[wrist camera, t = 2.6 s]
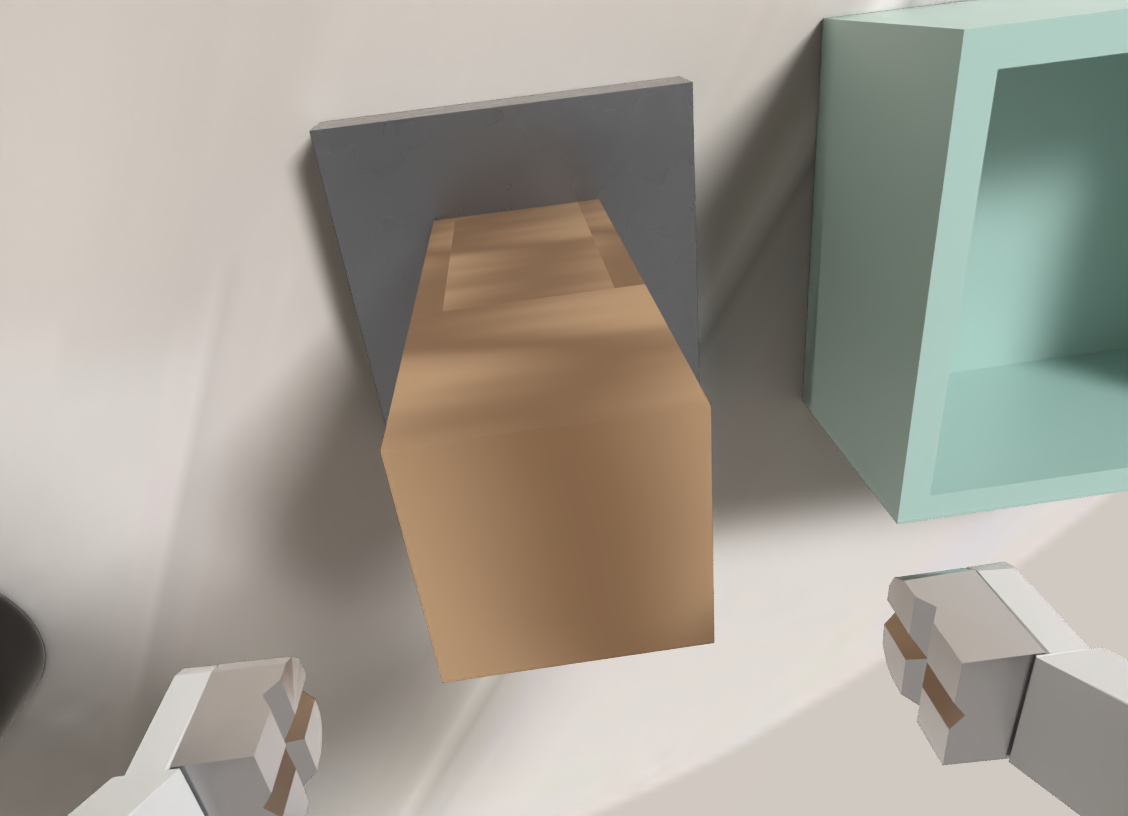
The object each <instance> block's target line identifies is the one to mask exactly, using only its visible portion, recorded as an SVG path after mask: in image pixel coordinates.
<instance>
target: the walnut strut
mask: <svg viewBox="0 0 1128 816" xmlns="http://www.w3.org/2000/svg"><path fill="white" fill-rule="evenodd" d="M380 452H381V456H382V460H383V463H384V467H385V471H386V474H387V478H388V482H389V486H390V489H391V493H392V497H393V501H394V504H395V508H396V512H397V515H398V519H399V523H400V527H401V530H402V534H403V538H404V541H405V545H406V549H407V553H408V556H409V560H410V564H411V568H412V571H413V575H414V579H415V582H416V586H417V590H418V594H419V597H420V601H421V605H422V608H423V612H424V616H425V620H426V623H427V627H428V631H429V635H430V638H431V642H432V646H433V649H434V653H435V657H436V661H437V664H438V668H439V672H440V675H441V679H442V683H445V682H451V681H458V680H465V679H472V678H479V677H485V676H492V675H499V674H506V673H513V672H519V671H526V670H533V669H540V668H547V667H553V666H560V665H567V664H574V663H581V662H587V661H594V660H601V659H608V658H615V657H621V656H628V655H635V654H642V653H649V652H655V651H662V650H669V649H676V648H683V647H689V646H696V645H703V644H710V643H714V588H713V518H712V447H711V405H710V403H709V401H708V399H707V397H706V396H705V394H704V392H703V390H702V388H701V386H700V385H699V383H698V381H697V379H696V377H695V375H694V373H693V372H692V370H691V368H690V366H689V364H688V362H687V361H686V359H685V357H684V355H683V353H682V351H681V350H680V348H679V346H678V344H677V342H676V340H675V338H674V337H673V335H672V333H671V331H670V329H669V327H668V326H667V324H666V322H665V320H664V318H663V316H662V315H661V313H660V311H659V309H658V307H657V305H656V303H655V302H654V300H653V298H652V296H651V294H650V292H649V291H648V289H647V287H646V285H645V283H644V281H643V280H642V278H641V276H640V274H639V272H638V270H637V268H636V267H635V265H634V263H633V261H632V259H631V257H630V256H629V254H628V252H627V250H626V248H625V246H624V245H623V243H622V241H621V239H620V237H619V235H618V233H617V232H616V230H615V228H614V226H613V224H612V222H611V221H610V219H609V217H608V215H607V213H606V211H605V210H604V208H603V206H602V204H601V202H600V200H599V199H596V200H588V201H581V202H573V203H565V204H558V205H550V206H543V207H535V208H527V209H520V210H512V211H504V212H497V213H489V214H482V215H474V216H466V217H459V218H451V219H443V220H436V221H434V222H433V226H432V231H431V235H430V239H429V244H428V248H427V252H426V257H425V261H424V265H423V269H422V274H421V278H420V282H419V287H418V291H417V295H416V300H415V304H414V308H413V313H412V317H411V321H410V326H409V330H408V334H407V338H406V343H405V347H404V351H403V356H402V360H401V364H400V369H399V373H398V377H397V382H396V386H395V390H394V395H393V399H392V403H391V407H390V412H389V416H388V420H387V425H386V429H385V433H384V438H383V442H382V446H381V451H380Z"/></svg>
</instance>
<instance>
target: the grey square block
mask: <svg viewBox="0 0 1128 816" xmlns="http://www.w3.org/2000/svg"><path fill="white" fill-rule="evenodd" d="M310 135H311V139H312V143H313V147H314V151H315V154H316V158H317V162H318V166H319V170H320V174H321V178H322V181H323V185H324V189H325V193H326V197H327V201H328V205H329V208H330V212H331V216H332V220H333V224H334V228H335V232H336V235H337V239H338V243H339V247H340V251H341V255H342V259H343V262H344V266H345V270H346V274H347V278H348V282H349V286H350V289H351V293H352V297H353V301H354V305H355V309H356V313H357V316H358V320H359V324H360V328H361V332H362V336H363V339H364V343H365V347H366V351H367V355H368V359H369V363H370V366H371V370H372V374H373V378H374V382H375V386H376V390H377V393H378V397H379V401H380V405H381V409H382V413H383V417H384V420H385V424H386V425H387V420H388V416H389V412H390V407H391V403H392V399H393V395H394V390H395V386H396V382H397V377H398V373H399V369H400V364H401V360H402V356H403V351H404V347H405V343H406V338H407V334H408V330H409V326H410V321H411V317H412V313H413V308H414V304H415V300H416V295H417V291H418V287H419V282H420V278H421V274H422V269H423V265H424V261H425V257H426V252H427V248H428V244H429V239H430V235H431V231H432V226H433V222H434V221H436V220H443V219H451V218H459V217H466V216H474V215H482V214H489V213H497V212H504V211H512V210H520V209H527V208H535V207H543V206H550V205H558V204H565V203H573V202H581V201H588V200H596V199H599V200H600V202H601V204H602V206H603V208H604V210H605V211H606V213H607V215H608V217H609V219H610V221H611V222H612V224H613V226H614V228H615V230H616V232H617V233H618V235H619V237H620V239H621V241H622V243H623V245H624V246H625V248H626V250H627V252H628V254H629V256H630V257H631V259H632V261H633V263H634V265H635V267H636V268H637V270H638V272H639V274H640V276H641V278H642V280H643V281H644V283H645V285H646V287H647V289H648V291H649V292H650V294H651V296H652V298H653V300H654V302H655V303H656V305H657V307H658V309H659V311H660V313H661V315H662V316H663V318H664V320H665V322H666V324H667V326H668V327H669V329H670V331H671V333H672V335H673V337H674V338H675V340H676V342H677V344H678V346H679V348H680V350H681V351H682V353H683V355H684V357H685V359H686V361H687V362H688V364H689V366H690V368H691V370H692V372H693V373H694V375H695V377H696V379H697V381H698V383H699V348H698V304H697V259H696V215H695V170H694V126H693V82H691V81H689V80H687V79H684V78H682V77H680V76H679V77H671V78H664V79H656V80H648V81H640V82H632V83H624V84H616V85H609V86H601V87H593V88H585V89H577V90H569V91H561V92H553V93H546V94H538V95H530V96H522V97H514V98H506V99H498V100H491V101H483V102H475V103H467V104H459V105H451V106H443V107H436V108H428V109H420V110H412V111H404V112H396V113H388V114H381V115H373V116H365V117H357V118H349V119H341V120H333V121H325V122H320V123H319V124H318V125H316V126H315V127H314V128H312V129H311V130H310Z"/></svg>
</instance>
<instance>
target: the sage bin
mask: <svg viewBox="0 0 1128 816" xmlns="http://www.w3.org/2000/svg"><path fill="white" fill-rule="evenodd" d="M803 403H804V404H805V405H806V407H807V408H808V409H809V410H810V412H811V413H812V414H813V416H814V417H815V418H816V419H817V421H818V422H819V423H820V425H821V426H822V427H823V429H824V430H825V431H826V432H827V434H828V435H829V436H830V438H831V439H832V440H833V441H834V443H835V444H836V445H837V447H838V448H839V449H840V451H841V452H842V453H843V454H844V456H845V457H846V458H847V460H848V461H849V462H850V463H851V465H852V466H853V467H854V469H855V470H856V471H857V473H858V474H859V475H860V476H861V478H862V479H863V480H864V482H865V483H866V484H867V485H868V487H869V488H870V489H871V491H872V492H873V493H874V495H875V496H876V497H877V498H878V500H879V501H880V502H881V504H882V505H883V506H884V508H885V509H886V510H887V511H888V513H889V514H890V515H891V517H892V518H893V519H894V520H895V522H896V523H897V524H900V523H907V522H914V521H921V520H928V519H935V518H942V517H949V516H956V515H963V514H970V513H977V512H984V511H991V510H997V509H1004V508H1011V507H1018V506H1025V505H1032V504H1039V503H1046V502H1053V501H1060V500H1067V499H1074V498H1081V497H1088V496H1095V495H1102V494H1109V493H1116V492H1123V491H1128V0H966V1H958V2H950V3H942V4H934V5H926V6H918V7H910V8H902V9H894V10H887V11H879V12H871V13H863V14H855V15H847V16H839V17H831V18H823V28H822V47H821V66H820V84H819V103H818V122H817V140H816V159H815V177H814V196H813V215H812V233H811V252H810V271H809V289H808V308H807V327H806V345H805V364H804V383H803Z"/></svg>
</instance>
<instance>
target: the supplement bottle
mask: <svg viewBox="0 0 1128 816" xmlns="http://www.w3.org/2000/svg"><path fill="white" fill-rule="evenodd" d="M44 664H45V651H44V646H43V642H42V639H41V637H40V634H39V632H38V630H37V629H36V627H35V625H34V624H33V623H32V621H31V620H30V619H29V617H28V616H27V615H26V614H25V613H24V612H23V611H22V610H21V609H20V608H19V607H18V606H16V605H15V604H14V603H13V602H11V601H10V600H9V599H7V598H6V597H4V596H2V595H1V594H0V740H1V739H2V737H3V736H4V734H5V733H6V731H7V730H8V728H9V727H10V725H11V724H12V722H13V721H14V719H15V718H16V716H17V715H18V713H19V712H20V710H21V709H22V707H23V706H24V704H25V703H26V701H27V700H28V698H29V697H30V695H31V694H32V692H33V690H34V689H35V687H36V686H37V684H38V682H39V680H40V678H41V676H42V673H43V669H44Z"/></svg>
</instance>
